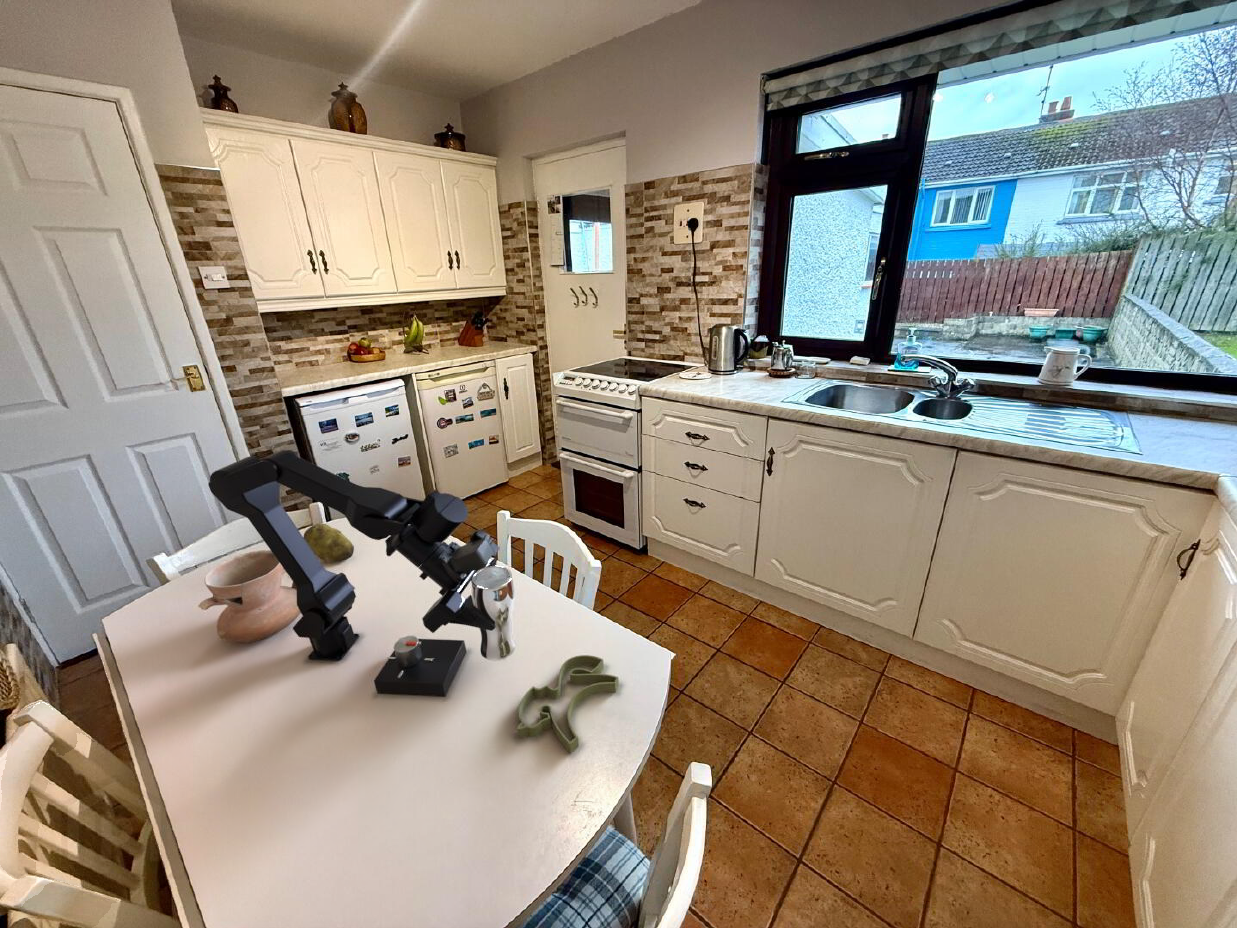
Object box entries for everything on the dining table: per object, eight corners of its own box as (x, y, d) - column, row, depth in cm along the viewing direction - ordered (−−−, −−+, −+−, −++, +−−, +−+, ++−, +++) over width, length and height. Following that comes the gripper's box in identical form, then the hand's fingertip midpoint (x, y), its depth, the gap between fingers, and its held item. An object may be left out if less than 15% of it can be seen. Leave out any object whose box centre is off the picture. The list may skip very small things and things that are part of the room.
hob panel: (376, 694, 82) (372, 680, 81) (404, 650, 92) (401, 637, 90) (445, 696, 82) (442, 683, 80) (466, 652, 91) (464, 639, 89)
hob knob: (393, 667, 84) (388, 650, 82) (404, 650, 88) (400, 633, 86) (415, 668, 84) (411, 651, 82) (425, 650, 87) (421, 634, 86)
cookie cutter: (565, 765, 70) (564, 755, 69) (503, 728, 76) (502, 719, 75) (626, 678, 84) (626, 669, 83) (570, 653, 90) (570, 644, 89)
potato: (323, 573, 115) (314, 545, 112) (304, 554, 123) (295, 527, 120) (359, 558, 121) (351, 530, 117) (339, 540, 129) (331, 514, 125)
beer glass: (476, 666, 81) (468, 592, 76) (478, 637, 88) (470, 567, 82) (518, 659, 83) (513, 586, 77) (517, 632, 89) (512, 562, 84)
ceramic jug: (239, 665, 89) (211, 603, 84) (201, 639, 96) (173, 580, 90) (332, 607, 103) (314, 551, 98) (294, 588, 110) (275, 534, 104)
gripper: (428, 560, 68) (510, 630, 71) (483, 500, 85) (547, 557, 88) (388, 600, 72) (467, 664, 75) (448, 535, 89) (511, 589, 92)
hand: (502, 614), depth 82 cm, fingers closed on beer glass, 7 cm apart
